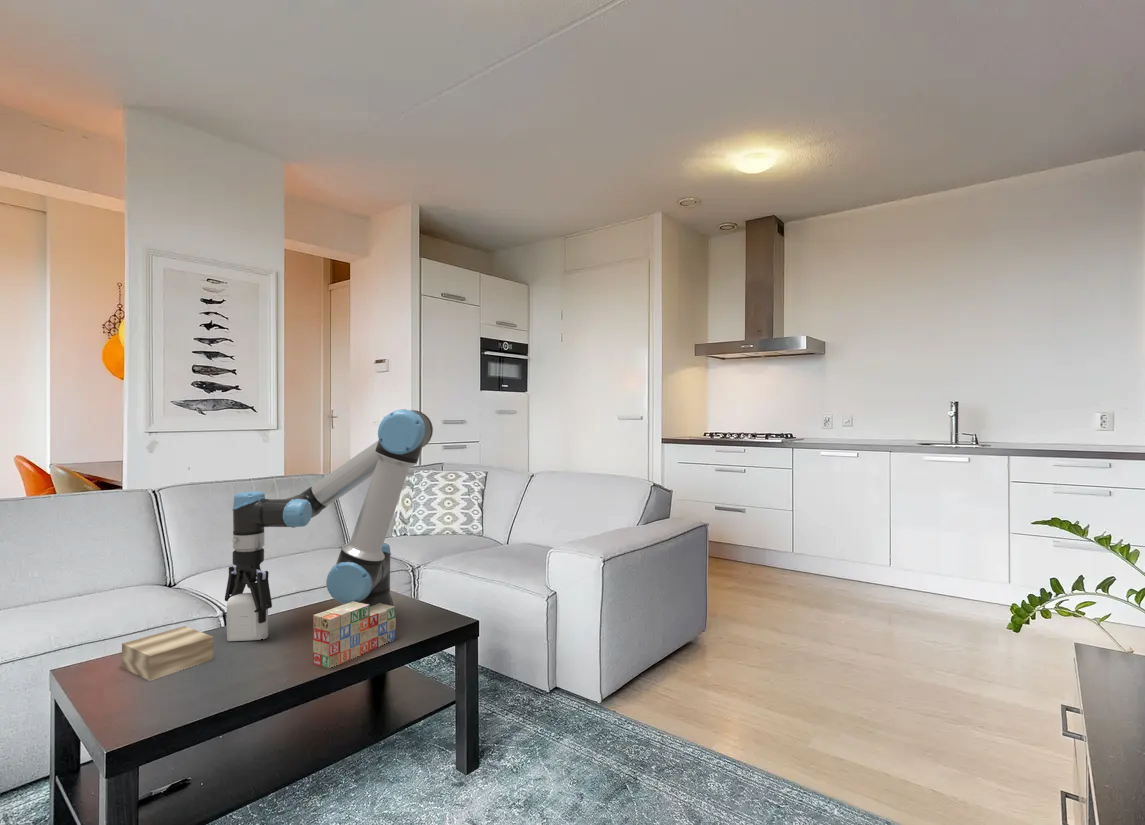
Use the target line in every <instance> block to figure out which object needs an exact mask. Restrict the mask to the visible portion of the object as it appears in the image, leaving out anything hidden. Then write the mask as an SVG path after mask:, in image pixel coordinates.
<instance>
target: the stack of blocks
mask: <svg viewBox="0 0 1145 825" xmlns="http://www.w3.org/2000/svg"><path fill="white" fill-rule="evenodd" d="M395 611H396V606H391V605H385V604H381V603H379V604H376V605H373V606H370V605H369V604H364V603H358V602H354V601H353V602H350V603H347V604H342V605H339V606H335V607H333V608H331V609H328V610H325V611H321V612H319V613H316V614H313V616H312V618H313V619H312V620H313V621H312V624H313V625H312V626H313V627H312V664H314V665H315V664H316V665H315V666H319V665H320V666H319V667H322V666H324V667H323V668H325V667H327V668H326V669H328V668H331V667H333V668H335V667H337V666H336V665H338V666H340V665H342V663H343V664H345V663H347V662H349V661H351V660H350V659H352V660H354V659H356V658H358V657H357V656H359V657H360V656H362V655H361V654H363V655H365V654H367V653H369V652H371V651H370V650H372V651H373V649H374V650H376V649H378V648H381V647H382V645H383V646H385V645H387V644H389V643H388V642H390V641H392V640H394V639H396V638H397V637H396V636H397V632H396V631H397V630H396V628H397V623H396V622H397V611H396V613H395ZM395 617H396V618H395ZM396 640H397V639H396ZM394 641H395V640H394ZM392 642H393V641H392ZM386 643H387V644H386ZM390 643H391V642H390ZM384 644H385V645H384ZM380 646H381V647H380ZM377 647H378V648H377ZM375 648H376V649H375ZM366 652H367V653H366ZM364 653H365V654H364ZM355 657H356V658H355ZM353 658H354V659H353ZM348 660H349V661H348ZM346 661H347V662H346ZM344 662H345V663H344ZM339 664H340V665H339ZM334 666H335V667H334ZM331 669H332V668H331Z"/></svg>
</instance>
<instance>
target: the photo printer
mask: <svg viewBox="0 0 1145 825" xmlns="http://www.w3.org/2000/svg"><path fill="white" fill-rule="evenodd" d="M226 602H227V603H226V641H227V642H239V641H241V642H242V641H243V642H244V641H245V642H246V641H257V640H258V641H261V639H263V640H265V639H267V638H268V637H269V609H267V610H266V622H265V633H264V634H261V635H258V636H254V611H255V610H256V607H255V603H254V600H253V597H252V593H251V592H246V593H245V592H243V594H238V595H235V596H232V597H230V598H229V599H228V601H226Z"/></svg>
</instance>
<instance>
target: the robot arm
mask: <svg viewBox="0 0 1145 825" xmlns="http://www.w3.org/2000/svg"><path fill="white" fill-rule="evenodd" d="M433 429H434V427H433V423H432V421H431V419H430V418H429V417H428V415H426V414H425V413H424V412H421V411H419V410H414V409H405V408H404V409H397V410H394V411H392V412H390V413H389V414H387V415H385V416H384V417H383V419H382V420H381V421H380V423H379V424H378V430H377V438H378V440H377V441H375V442H374V443H372V444H370V446H368V447H367V448H365V449H364V450H362V451H360V452H359V453H358V454H356V455H355V456H354V457H352V458H351V459H349V460H347V461H346V462H345V463H343V464H342V465H340V466H339V467H337V468H336V469H335V470H333V471H332V472H331V473H329V474H327V475H325V476H324V477H323V478H321V479H320V480H319V481H317V482H316V483H314V484H313V485H311V486H309V487H308V488H307V489H305V490H304V491H303V492H301V493H300V494H298V495H294V496H290V497H288V498H282V499H281V498H278V499H277V498H276V499H273V498H272V499H271V498H266V496H265V495H266V494H265V492H263V491H259V490H252V491H249V490H248V491H240V492H237V493H236V494H235V495H234V497H233V503H232V504H233V505H232V506H233V507H232V509H231V510H232V516H233V517H232V521H233V522H232V523H233V524H232V525H233V526H232V528H233V530H232V531H233V532H232V534H233V535H232V536H233V537H232V549H233V551H232V565H233V566H229V567H228V579H227V583H226V584H227V585H226V589H225V595H224V601H225V602H228V599H229V598H230V597H232V596H235V595H238V594H243V593H244V590H245V588H246V586H247V588H248V589H249V590H250V593H252V597H253V600H254V603H255V607H256V610H255V611H254V636H258V635H261V634H264V633H265V622H266V610H267V609H268V610H269V609H271V608H272V607H273V602H272V596H271V590H270V583H269V574H270V573H269V571H268V570H262V568H261V564H262V563H263V562H264V560H265V549H264V548H263V547H264V546H265V528H292V529H293V528H294V529H295V528H300V527H302V528H303V527H306V526H308V524H309V523H310V521H311V518H314V517H316V516H318V515H319V514H320V513H322V512H323V510H324V509H326V508H328V506H330V505H332V503H334V502H336V501H337V500H338V499H341V497H342V496H344V495H346V494H348V493H349V492H350V491H352V490H354V489H355V488H356V487H357V486H359V485H360V484H362V483H364V482H365V481H366V480H368V479H369V478H370V477H371V479H370V483H369V485H368V488H367V491H366V494H365V498H364V499H363V504H362V506H361V508H360V510H359V511H360V512H359V515H358V517H357V521H356V524H355V526H354V528H353V531H352V535H351V538H350V541H349V542H346V543H345V544H343V545H342V546H341V550H340V552H339V554H338V558H337V560H336V564H335V565H333V566H332V567H331V569H330V570H329V572H328V574H327V576H326V584H325V585H326V589H327V591H328V593H329V594H330V597H331V598H332V599H334V600H335V601H337V602H338V603H340V604H342V605H344V604H347V603H350V602H353V601H354V602H358V603H364V604H369V605H370V606H373V605H376V604H379V603H381V604H385V605H391V606H394V602H393V598H392V595H391V555H392V552H391V547H390V544H388V543H385V541H386V536H387V534H388V531H389V528H390V526H391V522H392V520H393V517H394V514H395V511H396V508H397V505H398V502H399V500H400V497H401V494H402V490H403V487H404V485H405V482H406V479H407V476H408V473H409V470H410V468H412V467H414V466H416V465H417V464H418V461H419V458H420V455H421V453H422V450H423V448H425V446H427V445H428V444H429V442H430V441H431V439H432V437H433V434H434V433H433V431H434V430H433ZM395 613H396V614H397V611H395ZM395 618H396V619H397V616H396V617H395Z"/></svg>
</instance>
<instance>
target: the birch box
mask: <svg viewBox="0 0 1145 825" xmlns="http://www.w3.org/2000/svg"><path fill="white" fill-rule="evenodd" d="M214 639H215V638H214V636H213V635H210V634H208V633H205V632H202V631H200V630H197V629H195V628H192V627H189V626H186V625H185V626H181V627H177V628H172V629H169V630H166V631H163V632H159V633H155V634H152V635H151V634H150V635H148V636H144V637H141V638H138V639H133V640H130V641H126V642H123V643H121V668H122V667H123V669H124V668H125V669H124V670H126V669H127V671H128V672H130V673H132V674H135V675H136V676H139V677H140V678H143V679H144V680H146V681H149V682H151V681H154V680H157V679H160V678H162V677H166V676H169V675H172V674H174V673H178V672H181V671H183V669H184V670H186V668H187V669H190V668H192V666H193V667H195V665H196V666H199V665H202V664H205V663H207V661H208V662H211V661H214V647H215V646H214V644H215V642H214ZM210 660H211V661H210ZM204 662H205V663H204ZM189 667H190V668H189ZM180 670H181V671H180Z"/></svg>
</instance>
